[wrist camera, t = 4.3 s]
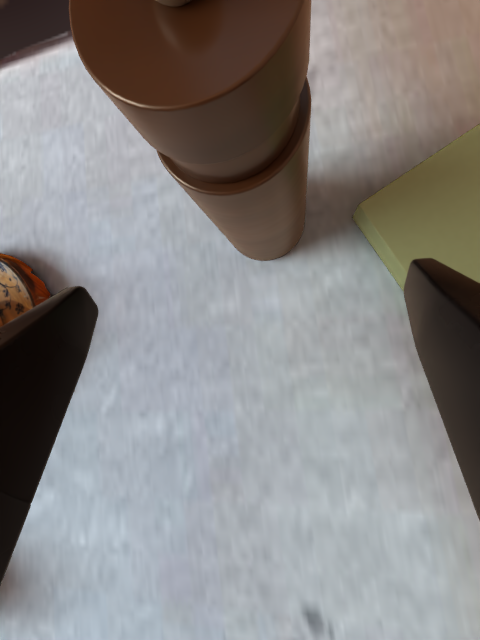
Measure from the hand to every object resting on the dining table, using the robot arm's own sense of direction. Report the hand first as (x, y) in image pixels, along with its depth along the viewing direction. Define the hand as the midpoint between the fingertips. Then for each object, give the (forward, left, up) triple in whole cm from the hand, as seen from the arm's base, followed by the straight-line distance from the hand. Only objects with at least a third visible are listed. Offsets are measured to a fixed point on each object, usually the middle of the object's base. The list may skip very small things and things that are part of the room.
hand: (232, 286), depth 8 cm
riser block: (-2, -10, -10) cm, 15 cm away
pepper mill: (+4, -2, -10) cm, 12 cm away
